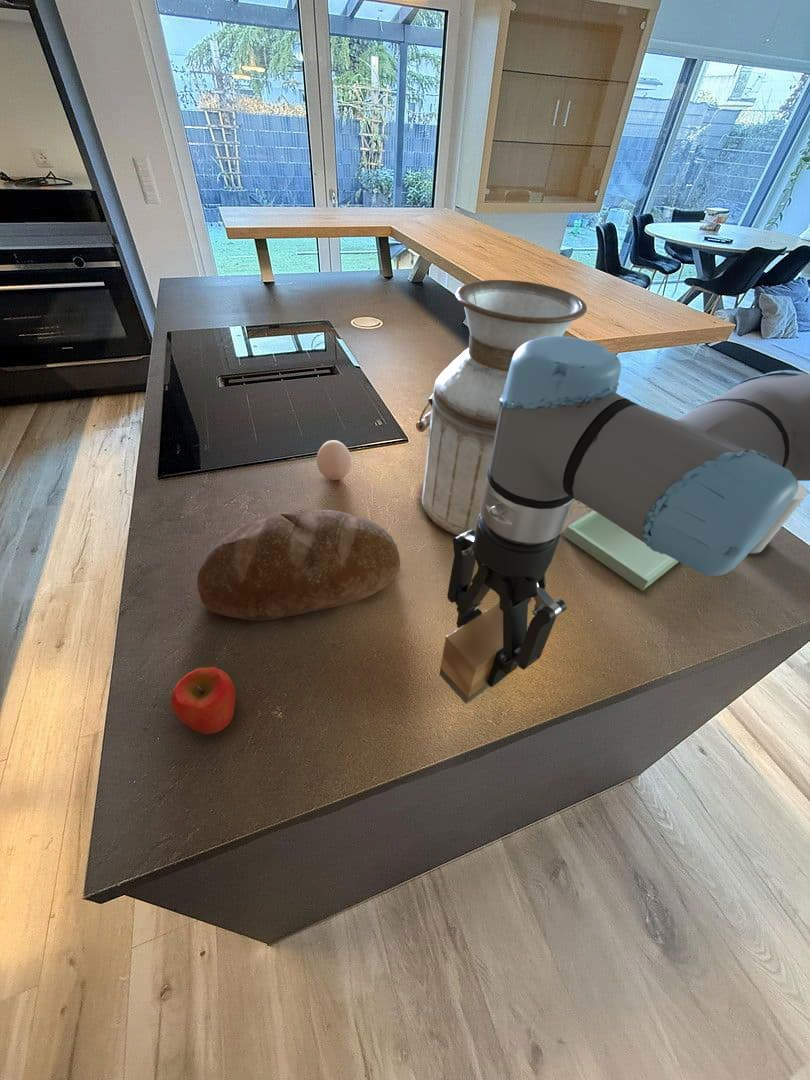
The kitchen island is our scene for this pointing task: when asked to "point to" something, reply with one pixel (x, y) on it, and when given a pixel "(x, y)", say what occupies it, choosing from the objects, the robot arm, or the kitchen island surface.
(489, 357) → the white milk churn
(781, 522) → the white cylinder
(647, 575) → the tray
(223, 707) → the apple
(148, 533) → the kitchen island surface
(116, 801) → the kitchen island surface
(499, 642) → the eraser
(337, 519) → the bread
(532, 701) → the kitchen island surface
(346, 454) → the egg
